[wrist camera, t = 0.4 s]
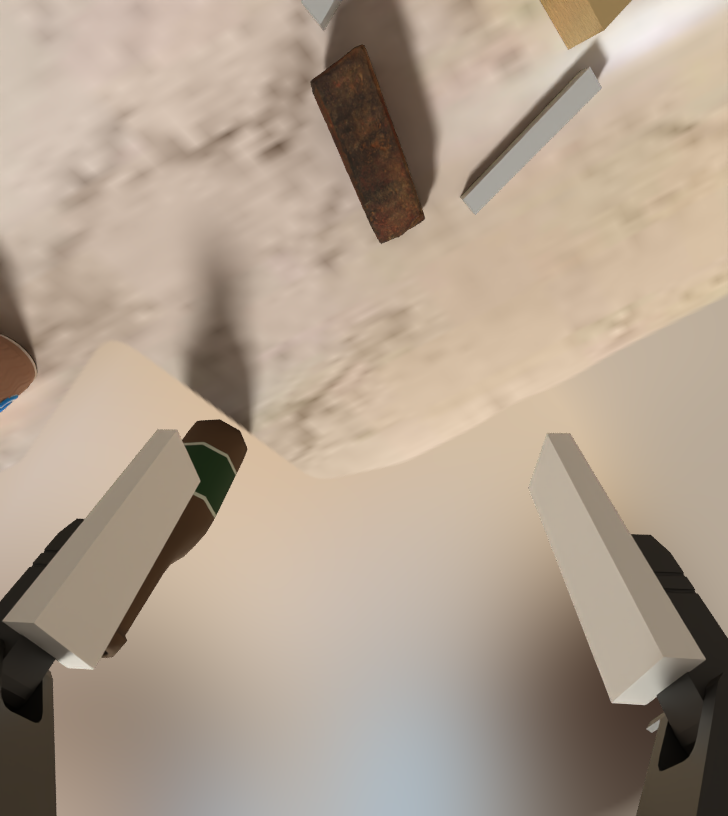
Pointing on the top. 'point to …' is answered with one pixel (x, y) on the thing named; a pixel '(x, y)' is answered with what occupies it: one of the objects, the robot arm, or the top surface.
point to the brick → (368, 144)
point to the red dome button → (582, 17)
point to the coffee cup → (14, 371)
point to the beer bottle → (192, 506)
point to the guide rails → (538, 133)
